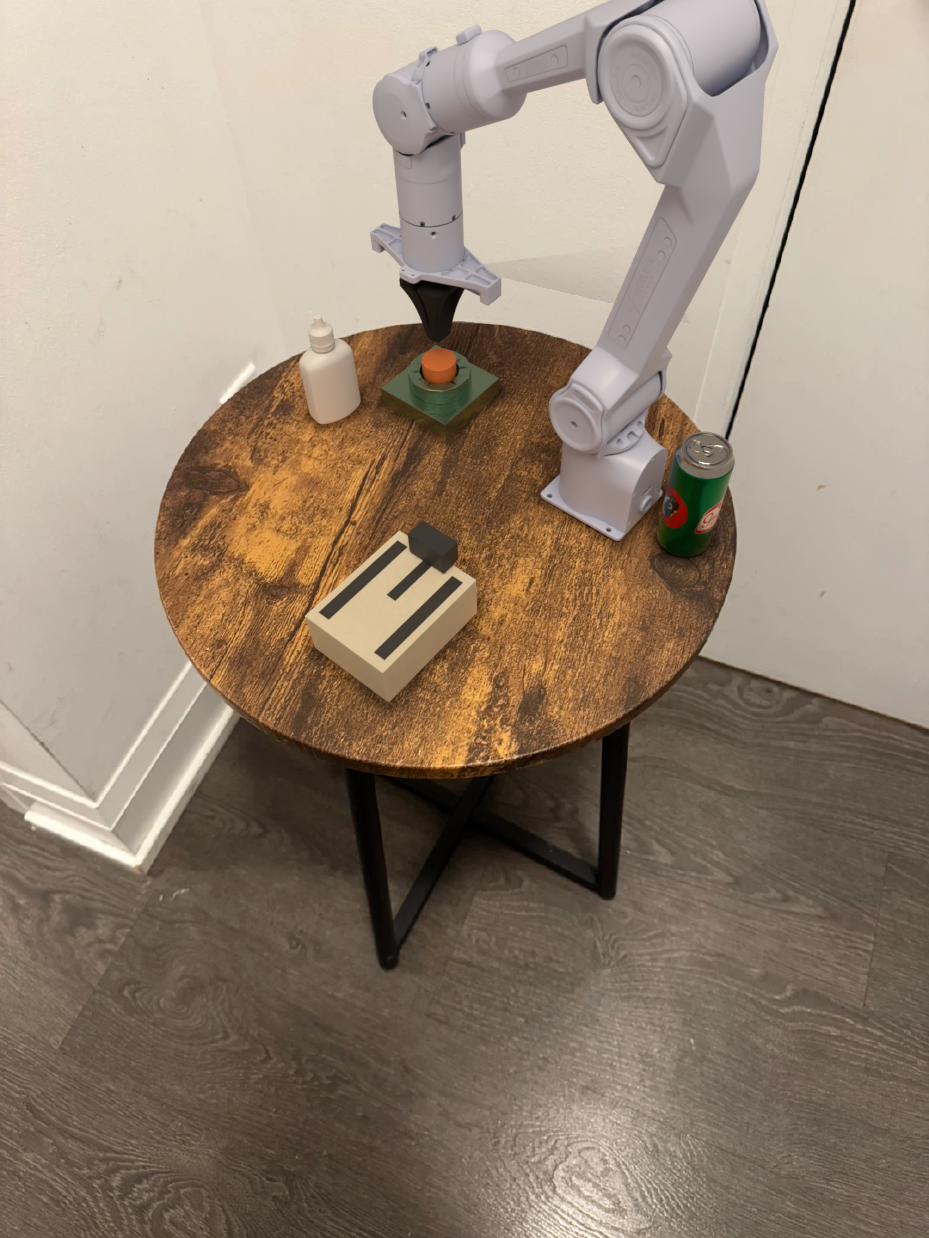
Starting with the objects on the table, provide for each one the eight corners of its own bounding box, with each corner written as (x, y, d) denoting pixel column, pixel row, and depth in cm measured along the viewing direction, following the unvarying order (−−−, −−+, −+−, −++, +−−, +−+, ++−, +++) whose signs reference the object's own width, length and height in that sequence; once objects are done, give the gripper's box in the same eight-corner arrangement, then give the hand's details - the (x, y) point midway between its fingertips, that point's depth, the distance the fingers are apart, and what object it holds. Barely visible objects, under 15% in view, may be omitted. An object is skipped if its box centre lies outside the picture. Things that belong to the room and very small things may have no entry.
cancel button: (463, 370, 94) (463, 357, 93) (441, 388, 93) (440, 375, 91) (437, 356, 96) (436, 343, 94) (415, 374, 94) (414, 361, 93)
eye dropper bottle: (308, 400, 98) (287, 307, 88) (359, 393, 98) (344, 299, 88) (311, 427, 95) (289, 335, 85) (363, 420, 96) (348, 327, 86)
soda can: (697, 568, 83) (724, 479, 73) (647, 547, 85) (667, 458, 75) (717, 531, 86) (746, 440, 76) (667, 512, 87) (690, 420, 77)
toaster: (481, 608, 81) (480, 575, 77) (388, 703, 76) (382, 672, 72) (407, 560, 85) (403, 526, 81) (314, 647, 79) (304, 615, 75)
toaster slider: (458, 559, 78) (457, 541, 76) (443, 574, 77) (442, 556, 75) (424, 537, 79) (422, 519, 77) (409, 551, 79) (407, 533, 77)
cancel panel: (499, 393, 97) (499, 364, 94) (446, 440, 94) (444, 411, 90) (436, 360, 101) (434, 331, 97) (383, 403, 97) (379, 374, 94)
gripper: (340, 202, 80) (360, 328, 91) (465, 260, 75) (469, 386, 86) (393, 168, 83) (405, 294, 94) (516, 221, 78) (514, 348, 89)
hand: (439, 335), depth 90 cm, fingers closed
